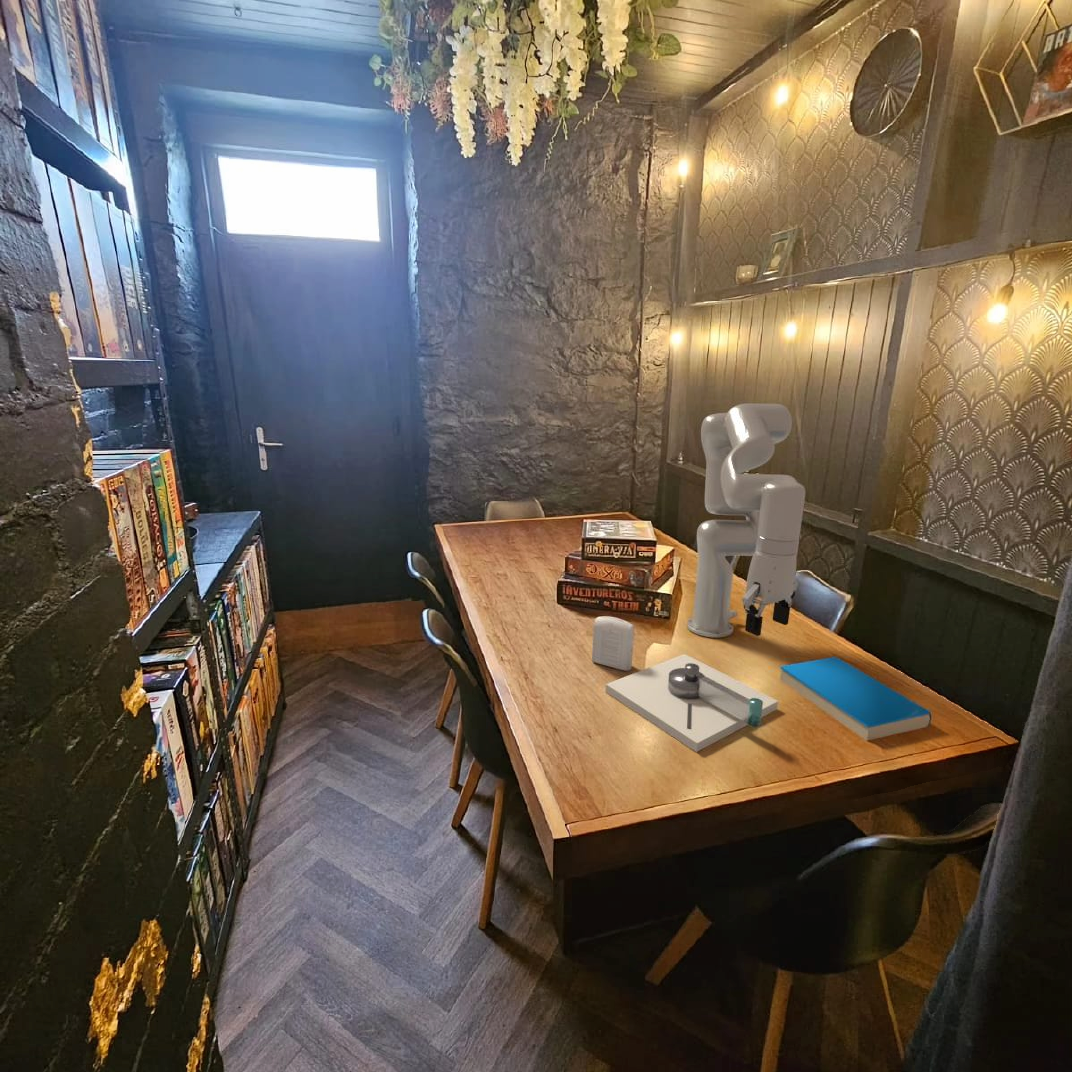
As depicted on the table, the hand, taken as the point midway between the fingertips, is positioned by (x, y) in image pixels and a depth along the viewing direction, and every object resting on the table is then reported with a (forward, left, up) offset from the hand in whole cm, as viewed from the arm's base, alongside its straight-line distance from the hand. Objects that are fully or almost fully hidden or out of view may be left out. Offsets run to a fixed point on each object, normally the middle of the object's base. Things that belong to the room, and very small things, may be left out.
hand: (766, 627), depth 116 cm
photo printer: (+10, -34, -21) cm, 41 cm away
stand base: (+7, -12, -20) cm, 25 cm away
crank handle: (+7, -6, -18) cm, 20 cm away
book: (-22, +8, -21) cm, 32 cm away
